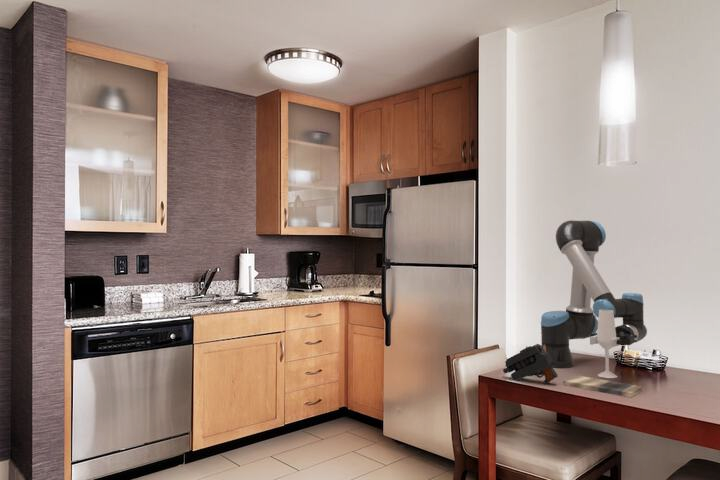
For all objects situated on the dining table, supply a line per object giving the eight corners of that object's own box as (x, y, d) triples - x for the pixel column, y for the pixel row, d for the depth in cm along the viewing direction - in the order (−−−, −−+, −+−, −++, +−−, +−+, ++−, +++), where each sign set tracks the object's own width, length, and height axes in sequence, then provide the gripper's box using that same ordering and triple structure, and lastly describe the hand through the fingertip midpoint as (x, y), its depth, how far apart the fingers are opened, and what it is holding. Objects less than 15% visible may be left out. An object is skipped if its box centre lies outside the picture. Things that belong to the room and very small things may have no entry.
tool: (557, 379, 192) (537, 342, 197) (514, 397, 202) (496, 362, 207) (562, 376, 197) (542, 340, 202) (520, 394, 207) (501, 359, 212)
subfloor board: (563, 384, 196) (563, 380, 196) (576, 379, 204) (576, 375, 204) (630, 397, 179) (630, 392, 179) (642, 390, 187) (642, 386, 187)
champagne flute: (621, 377, 187) (620, 311, 188) (605, 378, 186) (604, 311, 186) (609, 373, 194) (607, 309, 194) (593, 374, 192) (592, 309, 193)
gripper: (652, 347, 195) (630, 356, 179) (599, 341, 209) (574, 348, 194) (651, 327, 195) (630, 334, 180) (598, 322, 210) (574, 328, 194)
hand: (601, 342), depth 187 cm, fingers closed on champagne flute, 7 cm apart
